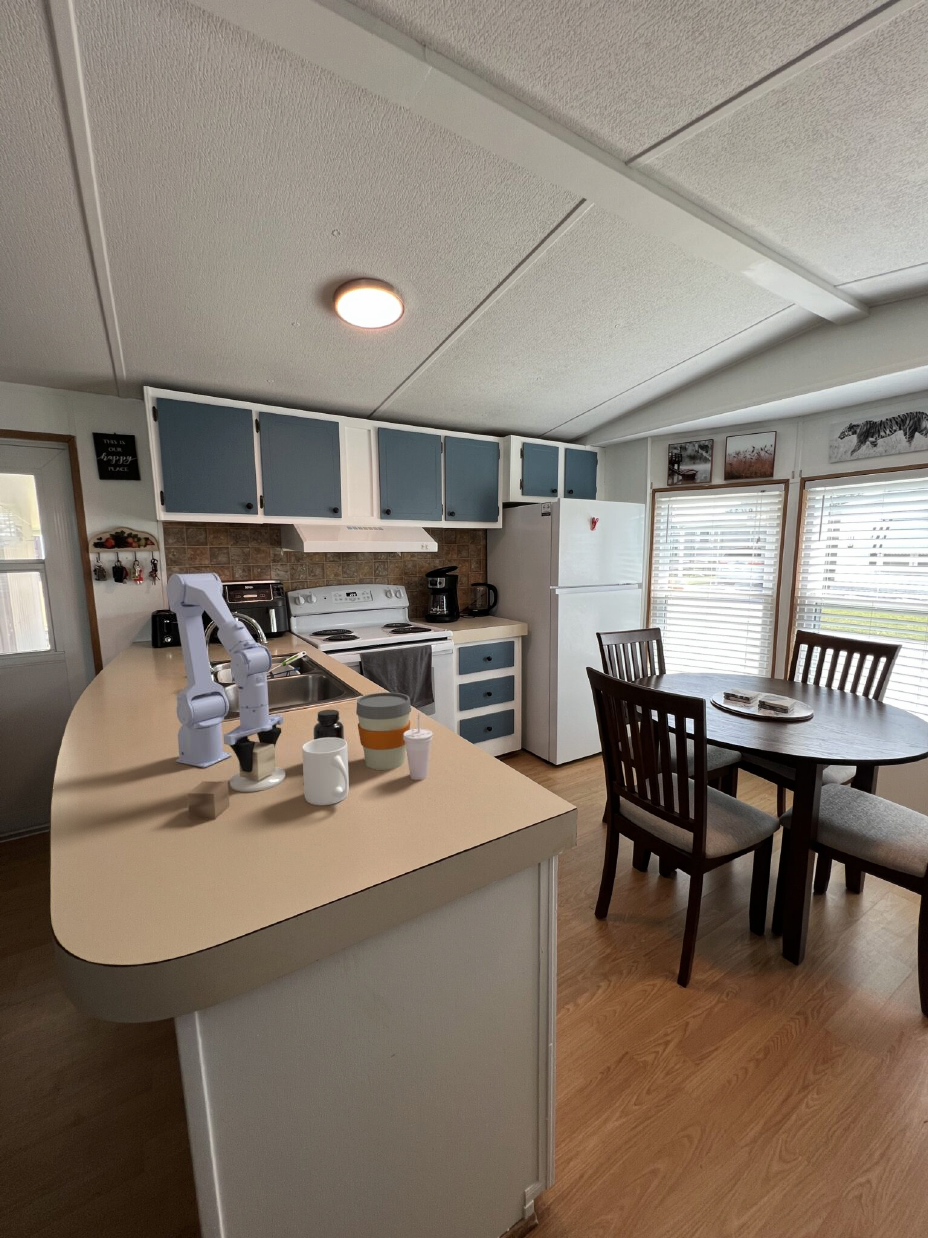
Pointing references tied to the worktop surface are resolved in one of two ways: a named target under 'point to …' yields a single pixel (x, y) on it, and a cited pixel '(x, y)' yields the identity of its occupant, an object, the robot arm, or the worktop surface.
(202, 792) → the walnut block
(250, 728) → the robot arm
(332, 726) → the supplement bottle
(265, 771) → the beech block
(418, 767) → the smoothie
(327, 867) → the worktop surface
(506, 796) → the worktop surface
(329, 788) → the mug
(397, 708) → the reusable coffee cup
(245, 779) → the coaster
